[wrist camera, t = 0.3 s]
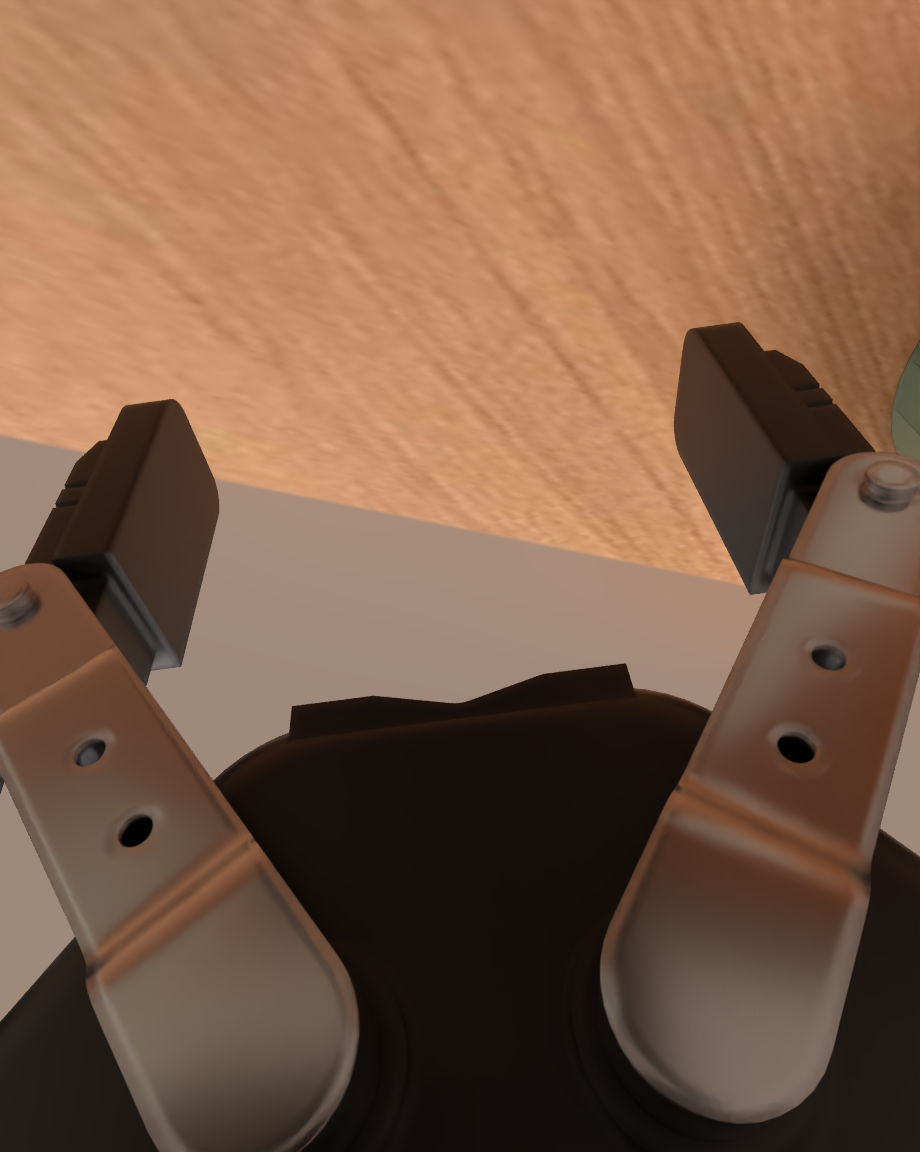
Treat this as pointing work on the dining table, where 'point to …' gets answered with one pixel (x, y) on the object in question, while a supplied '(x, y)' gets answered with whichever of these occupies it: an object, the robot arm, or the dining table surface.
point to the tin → (908, 410)
